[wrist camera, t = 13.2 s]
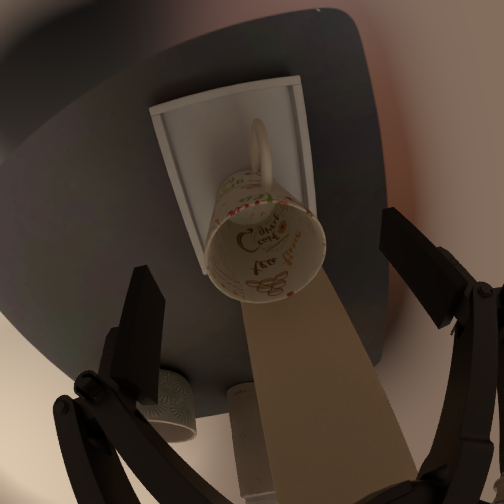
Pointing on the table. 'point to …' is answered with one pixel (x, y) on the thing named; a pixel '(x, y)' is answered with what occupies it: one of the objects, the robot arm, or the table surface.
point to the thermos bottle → (250, 446)
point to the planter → (172, 409)
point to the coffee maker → (288, 305)
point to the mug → (261, 233)
